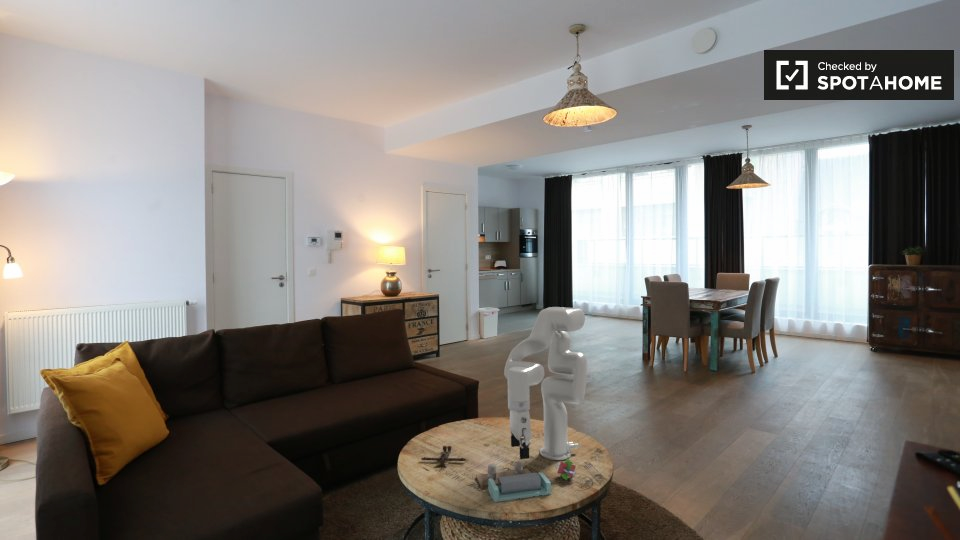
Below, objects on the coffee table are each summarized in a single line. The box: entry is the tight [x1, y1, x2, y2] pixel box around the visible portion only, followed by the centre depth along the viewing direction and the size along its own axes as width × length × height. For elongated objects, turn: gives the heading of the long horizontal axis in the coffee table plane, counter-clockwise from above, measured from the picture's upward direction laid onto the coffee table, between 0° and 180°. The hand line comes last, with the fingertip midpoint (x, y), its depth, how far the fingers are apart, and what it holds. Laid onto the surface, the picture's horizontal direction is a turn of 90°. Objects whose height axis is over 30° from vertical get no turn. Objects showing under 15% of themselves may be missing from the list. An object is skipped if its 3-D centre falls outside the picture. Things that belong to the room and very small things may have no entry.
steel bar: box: [498, 472, 541, 495], centre depth 162 cm, size 14×4×4 cm, turn 104°
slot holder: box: [487, 471, 552, 503], centre depth 162 cm, size 20×8×4 cm, turn 103°
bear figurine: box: [421, 445, 467, 467], centre depth 189 cm, size 18×4×14 cm
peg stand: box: [475, 460, 532, 489], centre depth 172 cm, size 20×8×6 cm, turn 103°
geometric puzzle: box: [555, 458, 577, 482], centre depth 172 cm, size 7×7×8 cm
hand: (519, 452), depth 163 cm, fingers open, 9 cm apart
